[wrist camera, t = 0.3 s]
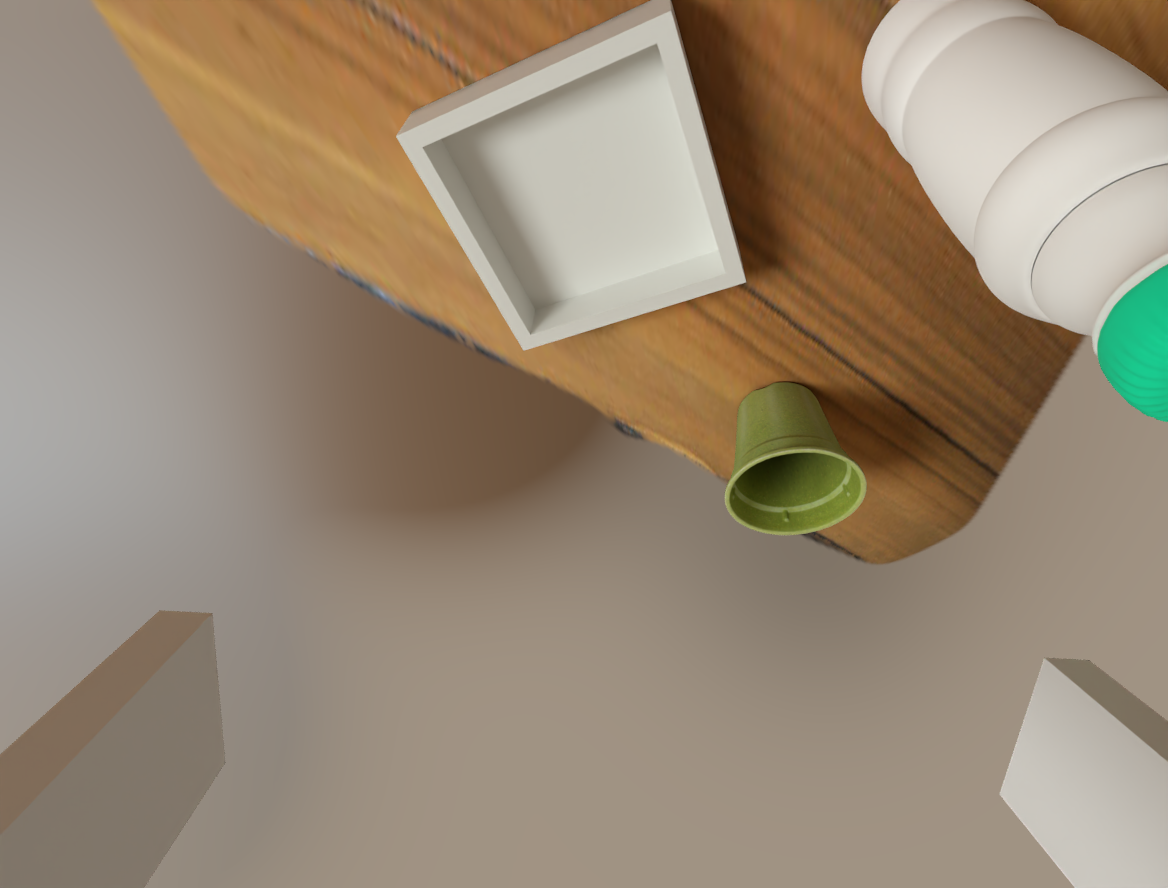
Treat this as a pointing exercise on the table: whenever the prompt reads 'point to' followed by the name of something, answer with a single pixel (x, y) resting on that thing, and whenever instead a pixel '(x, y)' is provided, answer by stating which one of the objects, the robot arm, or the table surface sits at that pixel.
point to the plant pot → (790, 465)
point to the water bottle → (1039, 169)
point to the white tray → (582, 179)
